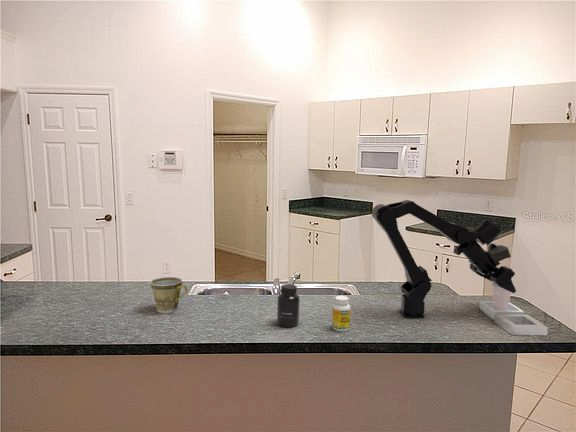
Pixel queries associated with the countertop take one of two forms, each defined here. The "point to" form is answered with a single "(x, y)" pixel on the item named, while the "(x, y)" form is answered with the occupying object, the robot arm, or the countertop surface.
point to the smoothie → (500, 298)
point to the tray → (489, 310)
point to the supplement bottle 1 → (288, 306)
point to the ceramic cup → (167, 293)
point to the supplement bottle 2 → (341, 314)
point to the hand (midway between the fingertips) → (506, 287)
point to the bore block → (514, 324)
